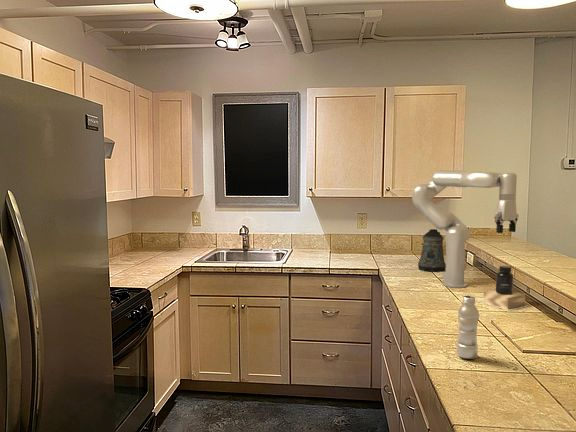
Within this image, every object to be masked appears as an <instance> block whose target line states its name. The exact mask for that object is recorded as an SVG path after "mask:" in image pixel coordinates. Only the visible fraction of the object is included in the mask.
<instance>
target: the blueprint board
mask: <svg viewBox="0 0 576 432" xmlns="http://www.w3.org/2000/svg"><path fill="white" fill-rule="evenodd" d="M479 303H481V304H484V305H488V306H491V307H495V308H498V309H502V310H504V311H509V312H513V311H517V310H521V309H526V308H529V307H531V305H528V304H525V306H521V307H516V308H512V309H505V308H501V307H498V306H494V305H491V304H487V303H484V300H482V301H479Z"/></svg>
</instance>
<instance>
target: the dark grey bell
mask: <svg viewBox="0 0 576 432" xmlns="http://www.w3.org/2000/svg"><path fill="white" fill-rule="evenodd" d="M444 238H445V237H443V235H442V234H441V232H440V231H438V229H437V228H435V229H434V228H431V229H429V231H428V232H426V233H425V234H423V236H422V240H423V241H422V242H423V244H422V248H421V253H420V257H419V261H418V262H417V267H418V270H420V271H422V272H426V273H443V272H446V260H445V256H444V247H443V244H444V242H443V241H444Z"/></svg>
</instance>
